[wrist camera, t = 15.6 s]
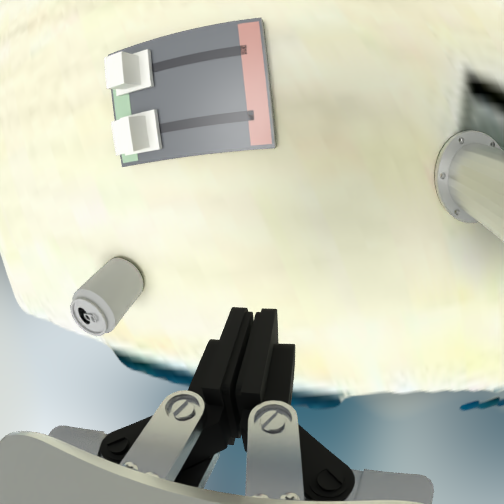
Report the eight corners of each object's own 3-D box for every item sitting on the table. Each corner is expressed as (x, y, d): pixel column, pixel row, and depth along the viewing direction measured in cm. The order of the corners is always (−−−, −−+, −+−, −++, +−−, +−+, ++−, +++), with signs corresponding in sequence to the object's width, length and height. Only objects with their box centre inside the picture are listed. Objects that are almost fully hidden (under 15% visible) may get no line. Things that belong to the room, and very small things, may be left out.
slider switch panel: (263, 22, 28) (260, 17, 26) (276, 146, 35) (274, 148, 33) (116, 56, 32) (107, 54, 30) (129, 164, 38) (121, 167, 36)
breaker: (156, 109, 32) (137, 110, 28) (162, 148, 35) (144, 154, 30) (122, 117, 33) (101, 120, 29) (128, 154, 35) (108, 161, 31)
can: (101, 256, 46) (58, 294, 35) (138, 254, 44) (96, 296, 34) (115, 294, 49) (78, 337, 38) (151, 295, 48) (117, 343, 37)
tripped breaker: (150, 50, 29) (131, 43, 25) (154, 86, 31) (134, 84, 27) (116, 61, 30) (95, 57, 26) (119, 96, 32) (98, 96, 28)
